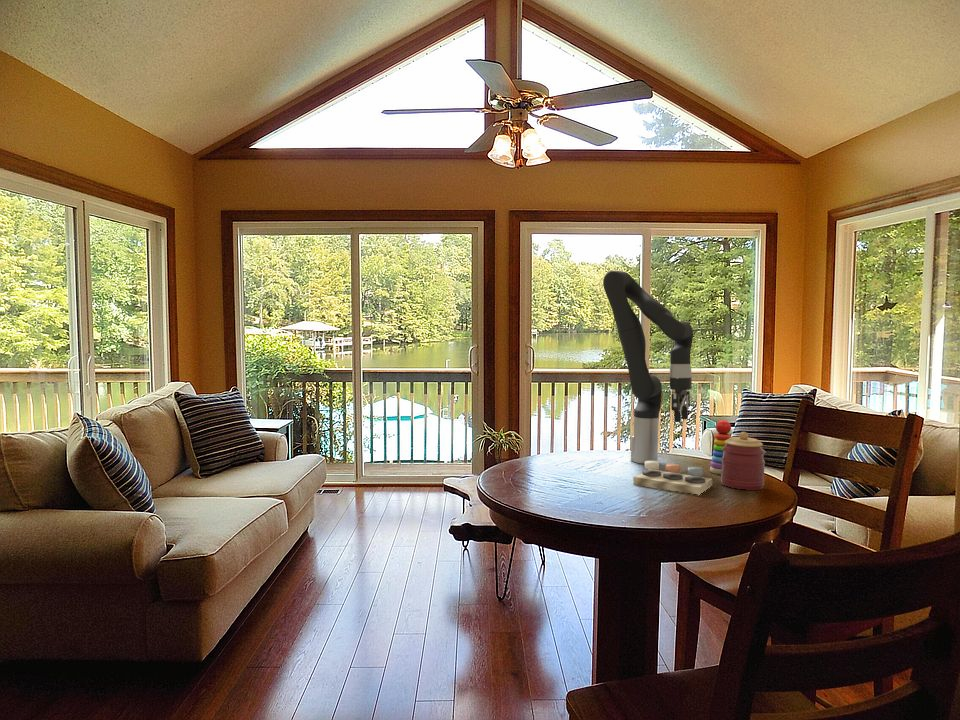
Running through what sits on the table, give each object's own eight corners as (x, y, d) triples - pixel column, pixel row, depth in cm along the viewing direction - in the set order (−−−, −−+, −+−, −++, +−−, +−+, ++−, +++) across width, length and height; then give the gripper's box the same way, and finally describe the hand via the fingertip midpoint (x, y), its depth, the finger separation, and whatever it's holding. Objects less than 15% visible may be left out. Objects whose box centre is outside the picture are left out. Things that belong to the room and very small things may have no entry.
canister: (745, 480, 198) (746, 428, 198) (773, 489, 186) (775, 434, 185) (712, 482, 195) (713, 429, 194) (738, 492, 182) (740, 435, 182)
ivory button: (642, 468, 193) (642, 462, 193) (647, 465, 197) (647, 460, 197) (656, 470, 190) (656, 464, 190) (661, 467, 194) (661, 461, 194)
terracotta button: (663, 471, 189) (663, 465, 189) (668, 468, 193) (668, 462, 193) (677, 473, 186) (678, 467, 186) (682, 471, 190) (682, 464, 190)
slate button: (685, 474, 185) (685, 468, 185) (689, 472, 189) (690, 466, 188) (700, 477, 182) (700, 470, 182) (704, 474, 186) (704, 468, 186)
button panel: (633, 484, 190) (633, 474, 190) (648, 476, 202) (648, 466, 201) (699, 495, 178) (700, 484, 178) (712, 486, 189) (712, 476, 189)
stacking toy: (737, 475, 204) (739, 422, 204) (714, 475, 204) (716, 421, 204) (728, 470, 212) (730, 418, 211) (706, 470, 212) (707, 418, 212)
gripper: (676, 375, 222) (676, 417, 222) (663, 377, 210) (664, 422, 211) (696, 375, 218) (697, 419, 218) (685, 377, 206) (685, 423, 206)
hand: (681, 420), depth 214 cm, fingers open, 8 cm apart
